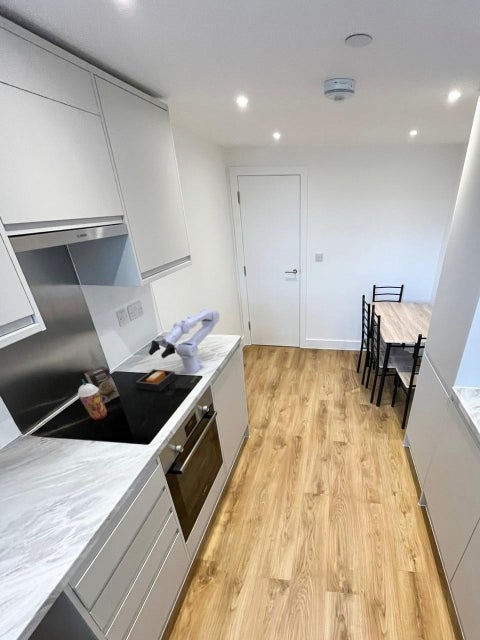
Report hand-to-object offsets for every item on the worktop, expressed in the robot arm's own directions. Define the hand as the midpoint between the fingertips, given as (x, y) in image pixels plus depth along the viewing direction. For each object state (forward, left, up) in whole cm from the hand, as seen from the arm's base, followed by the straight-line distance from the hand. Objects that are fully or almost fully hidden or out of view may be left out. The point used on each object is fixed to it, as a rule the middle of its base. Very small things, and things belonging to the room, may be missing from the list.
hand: (155, 355), depth 161 cm
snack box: (-3, -8, -18) cm, 20 cm away
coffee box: (+15, -24, -19) cm, 34 cm away
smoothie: (+29, -16, -19) cm, 38 cm away
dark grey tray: (-3, -8, -19) cm, 21 cm away
